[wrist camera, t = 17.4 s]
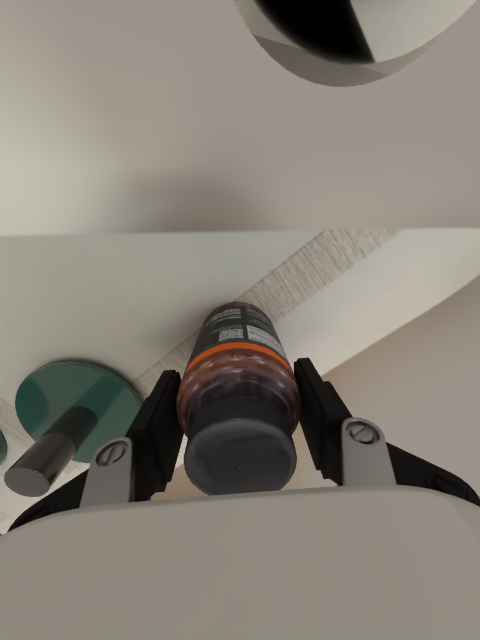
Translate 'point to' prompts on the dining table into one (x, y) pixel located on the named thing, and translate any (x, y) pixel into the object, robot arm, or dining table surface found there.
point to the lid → (67, 420)
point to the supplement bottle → (238, 405)
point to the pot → (2, 448)
